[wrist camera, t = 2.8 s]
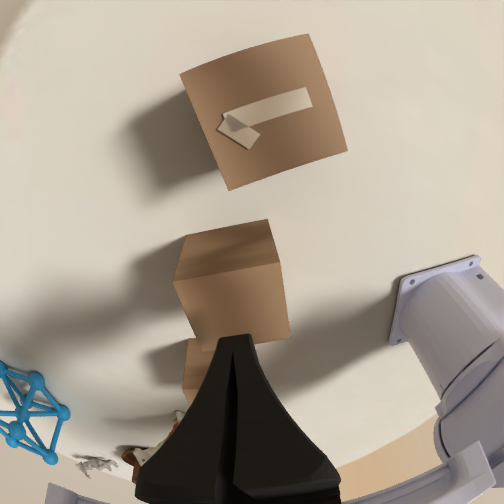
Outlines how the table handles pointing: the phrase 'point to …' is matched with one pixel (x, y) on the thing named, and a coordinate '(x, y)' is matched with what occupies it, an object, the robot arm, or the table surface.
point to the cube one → (265, 110)
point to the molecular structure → (30, 415)
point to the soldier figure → (95, 465)
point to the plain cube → (232, 284)
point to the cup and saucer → (132, 463)
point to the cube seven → (195, 368)
